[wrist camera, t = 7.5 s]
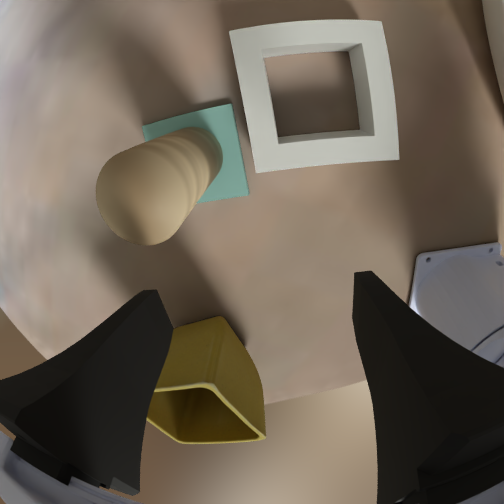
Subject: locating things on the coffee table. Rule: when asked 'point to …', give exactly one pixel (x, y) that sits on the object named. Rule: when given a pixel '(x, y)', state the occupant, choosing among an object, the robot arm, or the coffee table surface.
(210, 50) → the coffee table surface
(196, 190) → the dowel
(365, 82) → the socket block
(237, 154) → the pad
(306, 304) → the coffee table surface
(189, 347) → the flower pot
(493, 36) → the bowl
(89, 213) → the coffee table surface
